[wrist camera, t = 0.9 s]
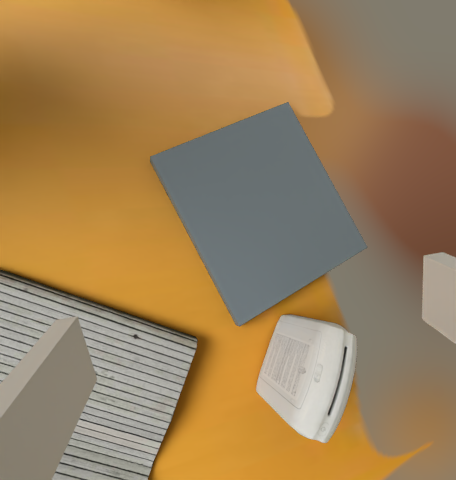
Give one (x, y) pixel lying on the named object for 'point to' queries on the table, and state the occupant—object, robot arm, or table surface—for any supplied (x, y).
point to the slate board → (258, 209)
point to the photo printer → (309, 374)
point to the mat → (103, 377)
